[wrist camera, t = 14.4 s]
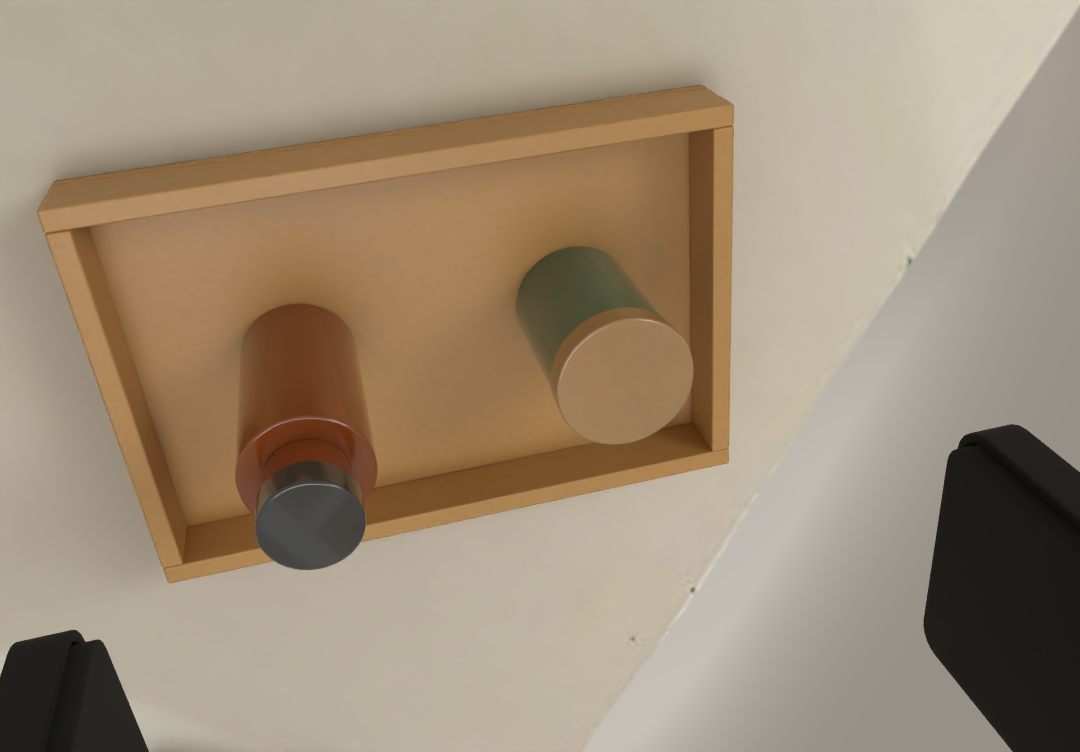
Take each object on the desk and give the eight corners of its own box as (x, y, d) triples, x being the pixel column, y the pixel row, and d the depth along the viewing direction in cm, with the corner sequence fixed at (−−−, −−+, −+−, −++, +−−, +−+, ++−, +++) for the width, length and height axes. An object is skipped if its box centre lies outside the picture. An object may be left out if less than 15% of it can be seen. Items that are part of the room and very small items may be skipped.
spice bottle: (228, 313, 37) (216, 482, 28) (346, 293, 38) (373, 450, 29) (254, 413, 40) (252, 601, 30) (365, 392, 40) (397, 568, 31)
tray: (53, 180, 34) (35, 210, 32) (702, 84, 38) (734, 103, 36) (174, 536, 42) (168, 584, 39) (702, 426, 46) (729, 463, 43)
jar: (507, 255, 39) (551, 333, 33) (629, 233, 40) (694, 306, 34) (518, 366, 41) (562, 457, 36) (634, 344, 42) (695, 430, 36)
